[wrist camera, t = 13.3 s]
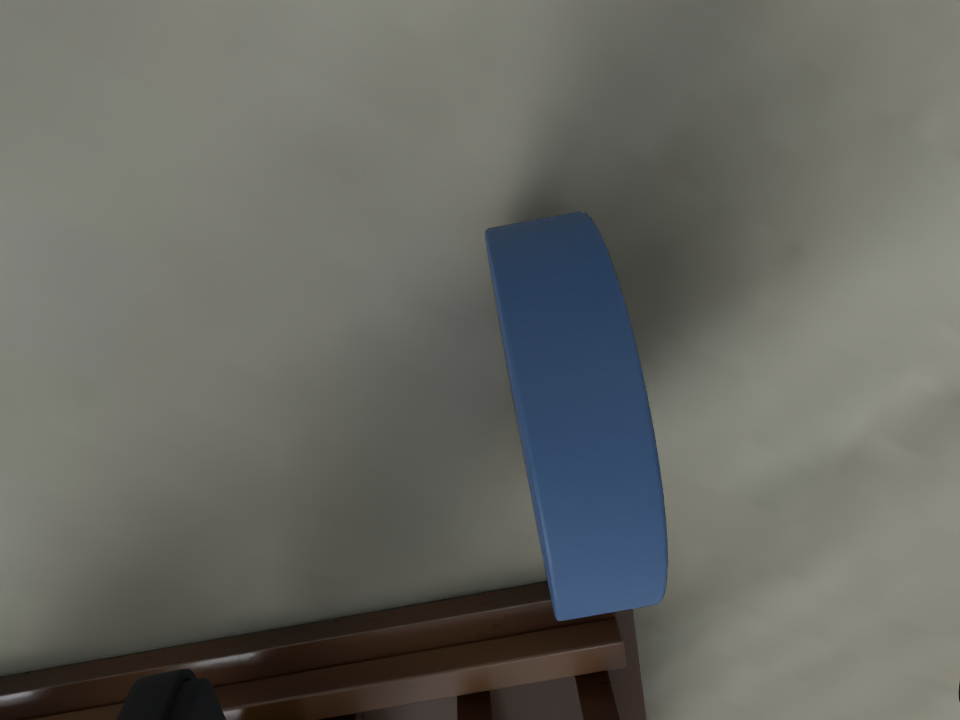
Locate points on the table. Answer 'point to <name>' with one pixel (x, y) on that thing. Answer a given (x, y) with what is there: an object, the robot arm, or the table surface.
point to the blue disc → (580, 415)
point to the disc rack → (381, 668)
